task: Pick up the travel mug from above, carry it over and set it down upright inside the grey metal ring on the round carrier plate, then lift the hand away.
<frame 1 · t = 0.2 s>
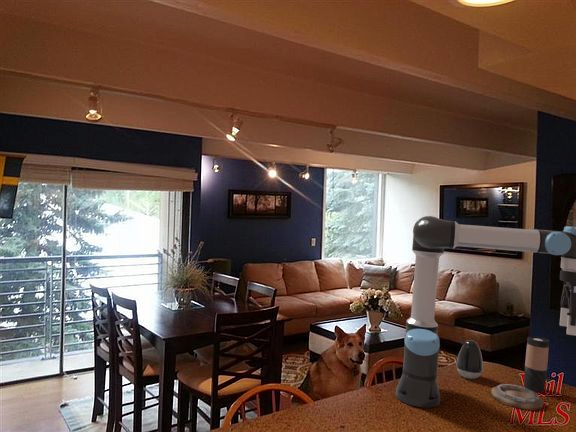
hand: (567, 330, 162), 28 cm above the kitchen counter, tool pointing down, fingers open, 13 cm apart
carrier plate: (516, 399, 169), on the kitchen counter
travel mug: (533, 389, 181), on the kitchen counter
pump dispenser: (468, 377, 189), on the kitchen counter
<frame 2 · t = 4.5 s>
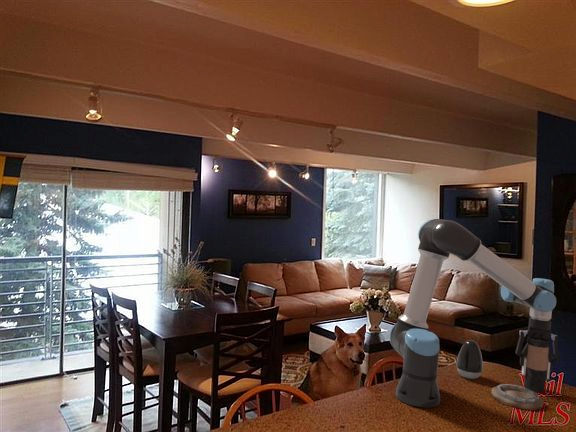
hand: (535, 375, 180), 5 cm above the kitchen counter, tool pointing down, fingers closed on travel mug, 8 cm apart
travel mug: (533, 389, 181), on the kitchen counter, touching gripper
everything else where it was.
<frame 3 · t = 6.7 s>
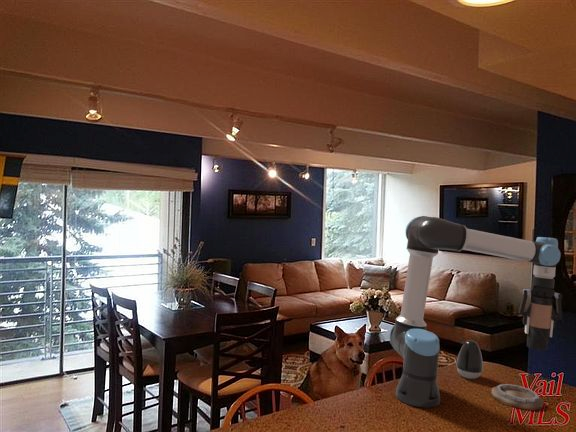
hand: (538, 334, 180), 22 cm above the kitchen counter, tool pointing down, fingers closed on travel mug, 8 cm apart
travel mug: (536, 348, 180), point 16 cm above the kitchen counter, touching gripper
everything else where it was.
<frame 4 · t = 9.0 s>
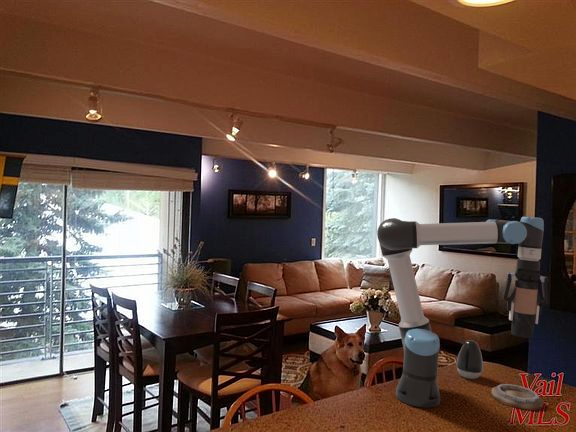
hand: (523, 321, 168), 29 cm above the kitchen counter, tool pointing down, fingers closed on travel mug, 8 cm apart
travel mug: (521, 335, 168), point 24 cm above the kitchen counter, touching gripper
everything else where it was.
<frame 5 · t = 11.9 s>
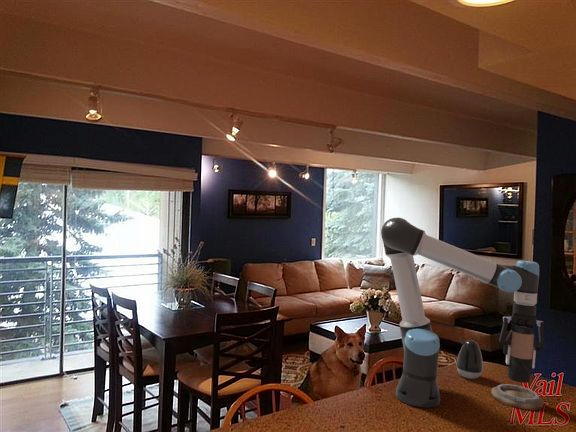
hand: (519, 365, 168), 13 cm above the kitchen counter, tool pointing down, fingers closed on travel mug, 8 cm apart
travel mug: (518, 379, 168), point 7 cm above the kitchen counter, touching gripper
everything else where it was.
when the fingers open (9 cm above the kitchen counter, at t = 13.7 s): travel mug drops 2 cm, resting on carrier plate.
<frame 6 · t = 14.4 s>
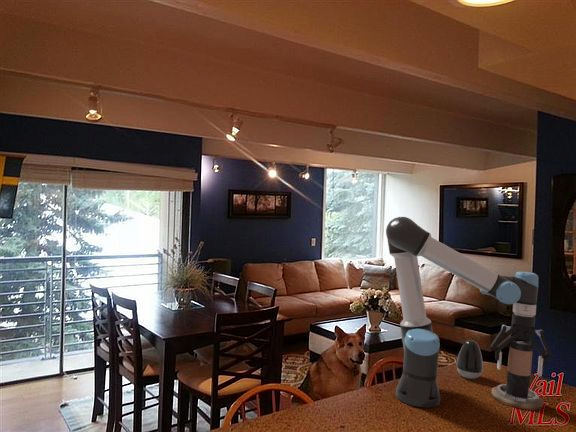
hand: (518, 372, 168), 10 cm above the kitchen counter, tool pointing down, fingers open, 13 cm apart
travel mug: (516, 395, 169), point 1 cm above the kitchen counter, touching carrier plate
everything else where it was.
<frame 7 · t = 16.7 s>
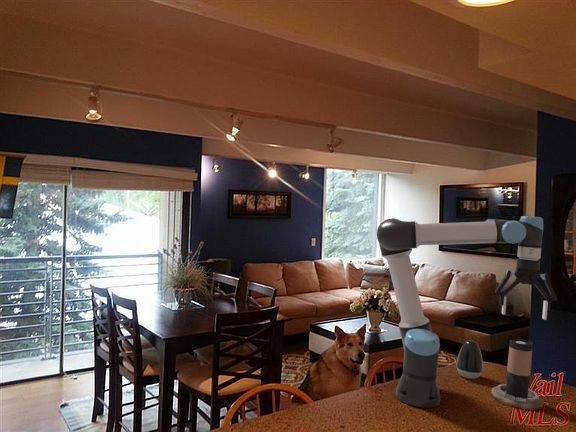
hand: (523, 316, 168), 31 cm above the kitchen counter, tool pointing down, fingers open, 13 cm apart
nothing on the kitchen counter moved.
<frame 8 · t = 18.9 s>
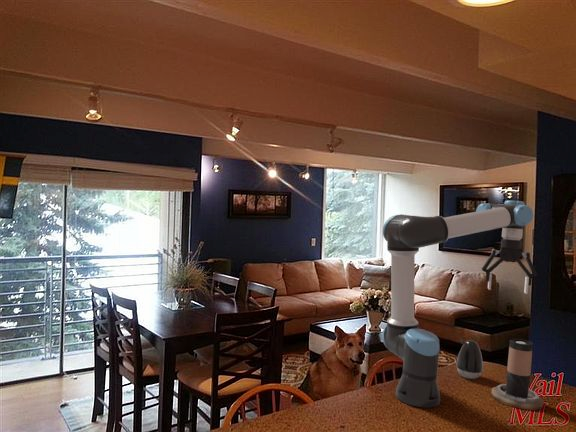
hand: (507, 291, 186), 37 cm above the kitchen counter, tool pointing down, fingers open, 13 cm apart
nothing on the kitchen counter moved.
at the end: travel mug 0.1 cm off-centre on the carrier plate, point 1.3 cm above the carrier plate's base; travel mug tilted 0°; the gripper is holding nothing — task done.
